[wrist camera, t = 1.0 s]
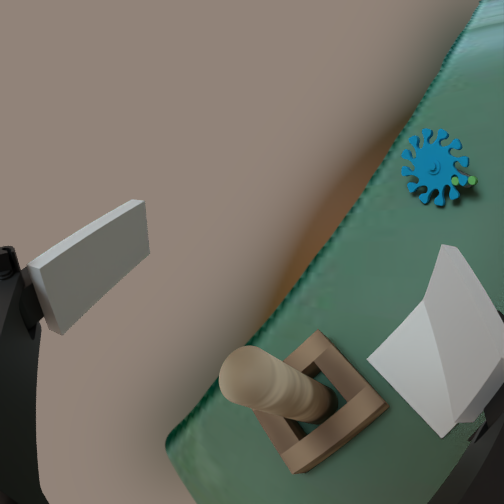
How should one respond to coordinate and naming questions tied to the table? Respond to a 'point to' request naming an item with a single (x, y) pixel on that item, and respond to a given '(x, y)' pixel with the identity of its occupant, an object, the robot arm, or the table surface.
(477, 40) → the table surface
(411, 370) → the pad
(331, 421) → the pocket block
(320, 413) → the dowel
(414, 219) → the table surface
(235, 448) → the table surface
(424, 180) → the gear
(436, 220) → the table surface
